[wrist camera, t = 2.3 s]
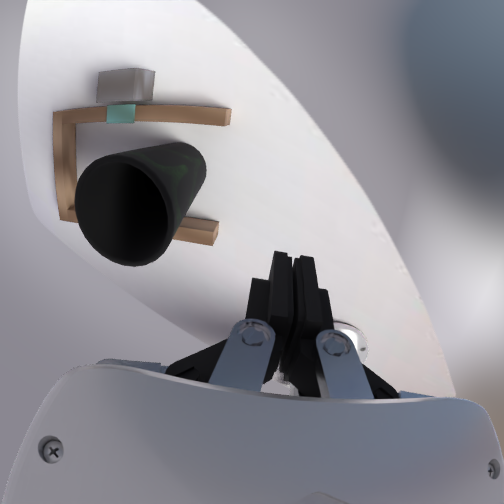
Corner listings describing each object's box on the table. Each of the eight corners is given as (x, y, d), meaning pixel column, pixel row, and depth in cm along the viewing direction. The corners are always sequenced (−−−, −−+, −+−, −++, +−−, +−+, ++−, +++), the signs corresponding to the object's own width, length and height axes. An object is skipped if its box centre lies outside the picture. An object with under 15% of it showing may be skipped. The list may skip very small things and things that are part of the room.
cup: (141, 195, 28) (75, 249, 18) (151, 126, 25) (75, 147, 14) (208, 213, 29) (166, 280, 18) (225, 141, 25) (183, 170, 14)
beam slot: (217, 236, 30) (208, 254, 26) (71, 213, 30) (52, 226, 27) (236, 73, 22) (228, 67, 18) (68, 81, 22) (45, 82, 18)
